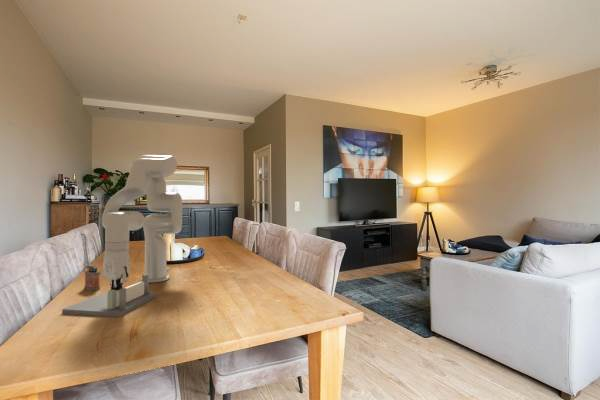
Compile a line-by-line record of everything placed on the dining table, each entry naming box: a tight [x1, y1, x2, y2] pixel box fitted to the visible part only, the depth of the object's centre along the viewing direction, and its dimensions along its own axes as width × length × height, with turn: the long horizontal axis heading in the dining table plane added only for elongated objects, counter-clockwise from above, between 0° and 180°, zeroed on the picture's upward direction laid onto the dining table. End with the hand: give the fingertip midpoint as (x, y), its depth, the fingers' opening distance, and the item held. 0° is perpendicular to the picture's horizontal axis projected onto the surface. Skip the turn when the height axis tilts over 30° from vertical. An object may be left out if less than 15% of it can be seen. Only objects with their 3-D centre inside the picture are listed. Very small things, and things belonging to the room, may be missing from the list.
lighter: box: [84, 264, 101, 292], centre depth 131 cm, size 8×3×10 cm, turn 65°
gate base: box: [61, 274, 157, 318], centre depth 112 cm, size 21×21×9 cm
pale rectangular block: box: [107, 280, 144, 309], centre depth 110 cm, size 16×2×6 cm, turn 170°
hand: (116, 297), depth 109 cm, fingers closed
